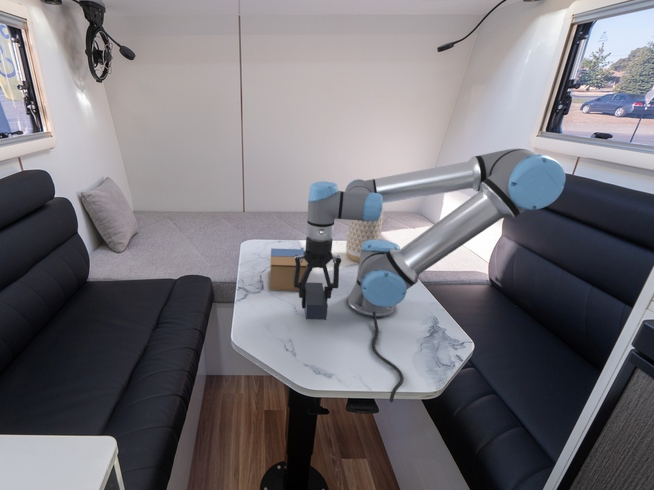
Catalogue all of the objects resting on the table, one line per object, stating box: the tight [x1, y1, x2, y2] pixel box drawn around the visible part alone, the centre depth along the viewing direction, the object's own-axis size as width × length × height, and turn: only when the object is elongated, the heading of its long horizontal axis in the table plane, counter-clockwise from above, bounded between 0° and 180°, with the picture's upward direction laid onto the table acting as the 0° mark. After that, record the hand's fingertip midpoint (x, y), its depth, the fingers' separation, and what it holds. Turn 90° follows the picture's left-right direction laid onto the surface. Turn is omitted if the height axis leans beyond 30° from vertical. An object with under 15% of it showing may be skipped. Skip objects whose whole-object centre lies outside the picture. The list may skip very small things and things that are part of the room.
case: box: [304, 282, 329, 321], centre depth 115 cm, size 14×6×5 cm, turn 178°
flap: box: [270, 247, 305, 257], centre depth 141 cm, size 7×13×1 cm, turn 88°
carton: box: [269, 255, 307, 292], centre depth 140 cm, size 15×13×10 cm
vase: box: [345, 203, 385, 263], centre depth 156 cm, size 14×14×31 cm
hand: (313, 306), depth 116 cm, fingers closed on case, 6 cm apart
